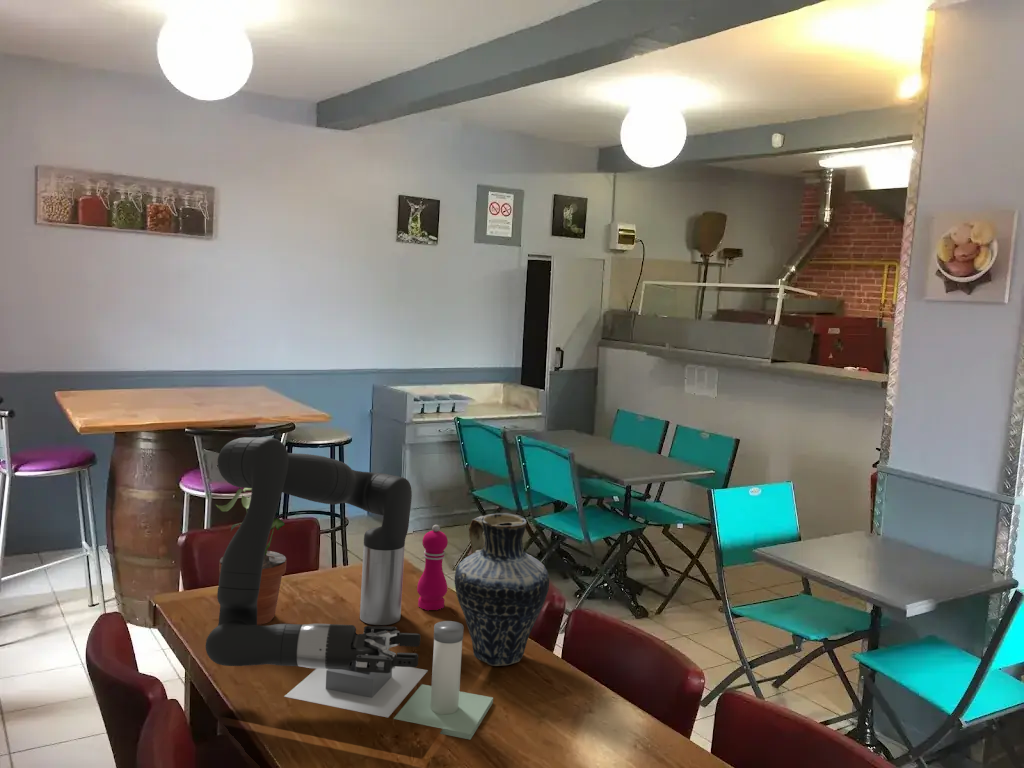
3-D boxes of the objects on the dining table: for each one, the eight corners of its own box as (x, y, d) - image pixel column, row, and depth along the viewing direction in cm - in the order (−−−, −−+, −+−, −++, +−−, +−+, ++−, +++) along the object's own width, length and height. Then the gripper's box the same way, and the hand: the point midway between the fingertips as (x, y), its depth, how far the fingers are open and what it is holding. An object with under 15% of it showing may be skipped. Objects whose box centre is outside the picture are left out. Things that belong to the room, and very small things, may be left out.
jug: (562, 662, 175) (573, 521, 172) (497, 689, 161) (508, 536, 158) (491, 630, 189) (500, 500, 186) (426, 653, 175) (435, 512, 172)
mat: (421, 689, 159) (422, 684, 158) (492, 702, 155) (493, 697, 155) (393, 723, 145) (393, 718, 145) (470, 739, 142) (470, 734, 142)
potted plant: (273, 600, 198) (280, 454, 195) (292, 623, 185) (299, 467, 182) (204, 608, 190) (210, 456, 186) (219, 633, 177) (225, 470, 174)
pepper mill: (441, 613, 197) (446, 530, 195) (411, 609, 198) (416, 526, 196) (449, 603, 204) (454, 522, 202) (421, 599, 205) (426, 519, 204)
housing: (334, 657, 169) (335, 636, 169) (427, 675, 165) (429, 653, 164) (283, 701, 150) (284, 677, 150) (387, 722, 145) (389, 698, 145)
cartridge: (435, 698, 153) (439, 619, 152) (462, 703, 152) (467, 623, 150) (425, 711, 148) (430, 629, 147) (453, 716, 147) (458, 634, 145)
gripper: (321, 642, 140) (418, 646, 141) (333, 610, 154) (422, 614, 155) (319, 685, 141) (416, 688, 142) (331, 649, 155) (419, 653, 156)
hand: (419, 649), depth 149 cm, fingers open, 8 cm apart
